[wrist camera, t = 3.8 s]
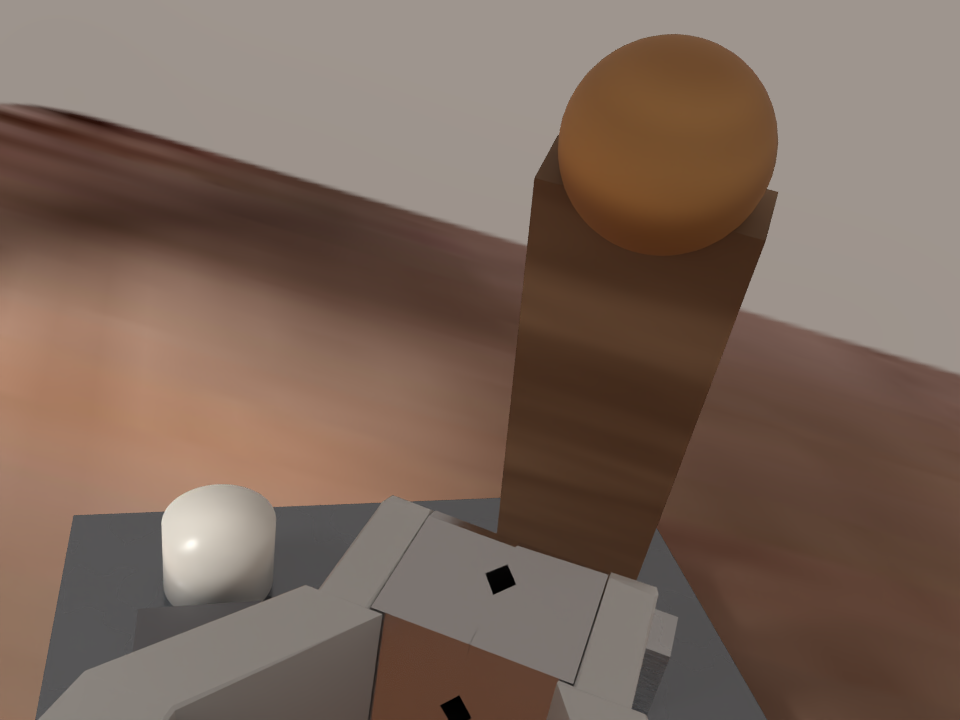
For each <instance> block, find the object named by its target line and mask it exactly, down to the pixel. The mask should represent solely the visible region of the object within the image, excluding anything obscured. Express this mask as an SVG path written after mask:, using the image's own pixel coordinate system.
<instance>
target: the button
mask: <svg viewBox="0 0 960 720" xmlns="http://www.w3.org/2000/svg"><path fill="white" fill-rule="evenodd" d="M161 526H162V556H163V586H164V592H165V595H166V597H167V599H168V600H169V602H170V603H171V604H172V605H173V606H185V605H199V604H214V603H228V602H242V601H257V600H261V602H262V601H263V600H264V599H265V598H266V597H267V595H268V593H269V592H270V589H271V587H272V583H273V569H274V550H275V532H276V514H275V511H274V508H273V507H272V505H271V504H270V502H269V501H268V500H267V499H266V498H265V497H263V496H262V495H261V494H259V493H257V492H255V491H253V490H251V489H248V488H245V487H241V486H236V485H228V484H217V485H208V486H203V487H199V488H196V489H193V490H190V491H188V492H186V493H184V494H182V495H181V496H179V497H178V498H176V499H175V500H174V501H173V502H172V503H171V504H170V505H169V506H168V507H167V509H166V510H165V512H164V514H163V517H162V522H161Z"/></svg>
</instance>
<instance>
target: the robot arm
mask: <svg viewBox="0 0 960 720" xmlns="http://www.w3.org/2000/svg"><path fill="white" fill-rule="evenodd" d="M608 575H609V572H606V571H603V570H600V569H597V568H594V567H591V566H588V565H585V564H583V563H580V562H577V561H574V560H571V559H568V558H565V557H562V556H559V555H556V554H553V553H550V552H547V551H545V550H542V549H539V548H536V547H533V546H530V545H527V544H524V543H520V542H518V541H516V540H513V539H510V538H508V537H505V536H502V535H500V534H497V533H494V532H492V531H489V530H486V529H484V528H481V527H478V526H476V525H473V524H470V523H468V522H465V521H462V520H460V519H457V518H454V517H452V516H449V515H447V514H444V513H441V512H439V511H436V510H435V511H432V510H431V509H428V508H425V507H423V506H420V505H417V504H415V503H412V502H409V501H407V500H404V499H401V498H399V497H396V496H394V495H392V496H391V497H389V498H388V499H386V500H384V501H383V502H382V503H381V504H380V506H379V507H378V508H377V510H376V511H375V513H374V514H373V515H372V517H371V518H370V519H369V521H368V522H367V524H366V525H365V526H364V528H363V529H362V530H361V532H360V533H359V534H358V536H357V537H356V539H355V540H354V541H353V543H352V544H351V545H350V547H349V548H348V550H347V551H346V552H345V554H344V555H343V556H342V558H341V559H340V560H339V562H338V563H337V565H336V566H335V567H334V569H333V570H332V571H331V573H330V574H329V576H328V577H327V578H326V580H325V581H324V582H323V584H322V585H321V587H320V588H319V589H315V588H313V587H310V586H307V585H304V586H302V587H299V588H296V589H294V590H291V591H289V592H286V593H284V594H281V595H278V596H276V597H273V598H271V599H268V600H266V601H263V602H260V603H258V604H255V605H253V606H250V607H248V608H245V609H243V610H240V611H237V612H235V613H232V614H230V615H227V616H225V617H222V618H219V619H217V620H214V621H212V622H209V623H207V624H204V625H201V626H199V627H196V628H194V629H191V630H189V631H186V632H183V633H181V634H178V635H176V636H173V637H171V638H168V639H165V640H163V641H160V642H158V643H155V644H153V645H150V646H147V647H145V648H142V649H140V650H137V651H135V652H132V653H129V654H127V655H124V656H122V657H119V658H117V659H114V660H111V661H109V662H106V663H104V664H101V665H99V666H96V667H93V668H91V669H88V670H86V671H84V672H83V673H82V674H81V675H80V676H79V677H78V678H77V679H76V681H75V682H74V683H73V684H72V685H71V686H70V687H69V688H68V689H67V690H66V691H65V692H64V693H63V694H62V695H61V696H60V697H59V698H58V699H57V700H56V701H55V702H54V703H53V705H52V706H51V707H50V708H49V709H48V710H47V711H46V712H45V713H44V714H43V715H42V716H41V717H40V718H39V719H38V720H648V718H647V716H646V715H645V714H643V713H641V712H638V711H636V710H633V709H631V708H632V704H633V700H634V696H635V692H636V687H637V683H638V679H639V675H640V670H641V666H642V662H643V658H644V654H645V649H646V645H647V641H648V637H649V632H650V628H651V624H652V620H653V616H654V611H655V607H656V603H657V599H658V591H657V587H654V586H651V585H648V584H645V583H642V582H639V581H636V580H633V579H630V578H627V577H624V576H621V575H618V574H615V573H612V572H611V574H610V576H609V578H608ZM607 579H608V581H607ZM606 582H607V584H606ZM605 586H606V587H605ZM604 589H605V590H604ZM603 593H604V594H603ZM602 596H603V597H602ZM601 599H602V600H601ZM598 609H599V610H598Z"/></svg>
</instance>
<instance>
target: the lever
mask: <svg viewBox="0 0 960 720" xmlns="http://www.w3.org/2000/svg"><path fill="white" fill-rule="evenodd" d="M777 148H778V134H777V122H776V118H775V113H774V109H773V106H772V103H771V101H770V98H769V96H768V94H767V91H766V89H765V88H764V86H763V84H762V83H761V81H760V80H759V78H758V77H757V75H756V74H755V73H754V72H753V70H752V69H751V68H750V67H749V66H748V65H747V64H746V63H745V62H744V61H743V60H742V59H741V58H739V57H738V56H737V55H735V54H734V53H732V52H731V51H729V50H728V49H726V48H724V47H722V46H721V45H719V44H717V43H714V42H712V41H709V40H706V39H703V38H699V37H694V36H689V35H680V34H667V35H658V36H652V37H647V38H643V39H640V40H637V41H634V42H632V43H629V44H627V45H624V46H622V47H621V48H619V49H617V50H615V51H614V52H612V53H611V54H609V55H608V56H606V57H605V58H603V59H602V60H601V61H600V62H599V63H598V64H597V65H596V66H594V68H592V69H591V70H590V71H589V72H588V73H587V75H586V76H585V77H584V78H583V80H582V81H581V82H580V84H579V85H578V87H577V88H576V89H575V91H574V93H573V95H572V97H571V98H570V100H569V103H568V105H567V107H566V110H565V113H564V115H563V118H562V123H561V128H560V133H559V135H558V136H557V138H556V140H555V141H554V143H553V145H552V147H551V149H550V151H549V152H548V155H547V156H546V158H545V160H544V162H543V163H542V165H541V167H540V169H539V171H538V173H537V175H536V176H535V179H534V188H533V197H532V207H531V217H530V226H529V236H528V245H527V254H526V263H525V273H524V282H523V292H522V301H521V311H520V320H519V329H518V339H517V348H516V358H515V367H514V377H513V386H512V395H511V405H510V414H509V424H508V433H507V443H506V452H505V461H504V471H503V480H502V490H501V499H500V509H499V518H498V527H497V534H500V535H502V536H505V537H508V538H510V539H513V540H516V541H518V542H520V543H524V544H527V545H530V546H533V547H536V548H539V549H542V550H545V551H547V552H550V553H553V554H556V555H559V556H562V557H565V558H568V559H571V560H574V561H577V562H580V563H583V564H585V565H588V566H591V567H594V568H597V569H600V570H603V571H606V572H609V575H608V578H609V576H610V574H611V572H612V573H615V574H618V575H621V576H624V577H627V578H630V579H633V580H637V578H638V575H639V572H640V570H641V567H642V564H643V562H644V559H645V557H646V554H647V551H648V549H649V546H650V543H651V541H652V538H653V536H654V533H655V530H656V528H657V525H658V522H659V520H660V517H661V515H662V512H663V509H664V507H665V504H666V501H667V499H668V496H669V493H670V491H671V488H672V486H673V483H674V480H675V478H676V475H677V472H678V470H679V467H680V465H681V462H682V459H683V457H684V454H685V451H686V449H687V446H688V444H689V441H690V438H691V436H692V433H693V430H694V428H695V425H696V422H697V420H698V417H699V415H700V412H701V409H702V407H703V404H704V401H705V399H706V396H707V394H708V391H709V388H710V386H711V383H712V380H713V378H714V375H715V373H716V370H717V367H718V365H719V362H720V359H721V357H722V354H723V351H724V349H725V346H726V344H727V341H728V338H729V336H730V333H731V330H732V328H733V325H734V323H735V320H736V317H737V315H738V312H739V309H740V307H741V304H742V302H743V299H744V296H745V293H746V291H747V288H748V286H749V283H750V280H751V278H752V275H753V273H754V270H755V267H756V265H757V262H758V259H759V257H760V254H761V251H762V249H763V246H764V244H765V241H766V237H767V234H768V230H769V226H770V222H771V218H772V214H773V210H774V207H775V202H776V199H777V194H778V192H776V191H772V190H768V189H767V187H768V185H769V182H770V180H771V177H772V174H773V171H774V167H775V163H776V157H777ZM607 581H608V579H607ZM606 584H607V582H606ZM605 587H606V586H605ZM604 590H605V589H604ZM603 594H604V593H603ZM602 597H603V596H602ZM601 600H602V599H601ZM598 610H599V609H598Z"/></svg>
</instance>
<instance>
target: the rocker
mask: <svg viewBox="0 0 960 720" xmlns="http://www.w3.org/2000/svg"><path fill="white" fill-rule="evenodd" d="M260 602H261V600H257V601H242V602H228V603H214V604H199V605H185V606H170V607H156V608H142V609H138V613H137V620H136V628H135V636H134V644H133V652H135V651H137V650H140V649H142V648H145V647H147V646H150V645H153V644H155V643H158V642H160V641H163V640H165V639H168V638H171V637H173V636H176V635H178V634H181V633H183V632H186V631H189V630H191V629H194V628H196V627H199V626H201V625H204V624H207V623H209V622H212V621H214V620H217V619H219V618H222V617H225V616H227V615H230V614H232V613H235V612H237V611H240V610H243V609H245V608H248V607H250V606H253V605H255V604H258V603H260Z"/></svg>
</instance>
